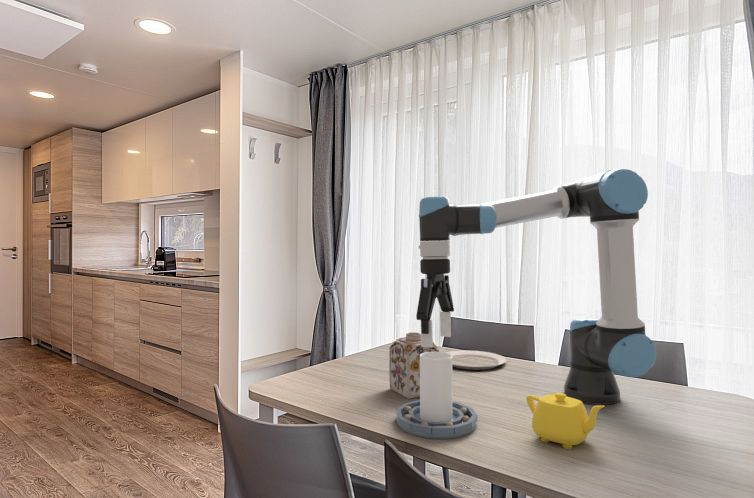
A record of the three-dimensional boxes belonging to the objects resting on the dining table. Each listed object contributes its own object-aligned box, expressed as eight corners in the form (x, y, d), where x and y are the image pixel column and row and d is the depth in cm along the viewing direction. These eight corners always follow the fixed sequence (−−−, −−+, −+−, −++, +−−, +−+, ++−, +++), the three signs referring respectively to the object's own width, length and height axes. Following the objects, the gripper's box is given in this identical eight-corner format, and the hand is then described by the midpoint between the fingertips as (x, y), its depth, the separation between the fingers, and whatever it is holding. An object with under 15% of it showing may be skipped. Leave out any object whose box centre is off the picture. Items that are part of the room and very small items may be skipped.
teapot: (613, 444, 104) (613, 397, 104) (595, 461, 96) (595, 410, 96) (536, 423, 117) (536, 381, 117) (515, 437, 109) (515, 391, 109)
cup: (451, 425, 113) (451, 359, 113) (418, 422, 115) (417, 358, 115) (453, 413, 121) (452, 352, 121) (421, 411, 123) (421, 351, 123)
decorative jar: (388, 388, 146) (388, 332, 146) (419, 383, 151) (419, 328, 151) (408, 400, 136) (407, 338, 135) (440, 393, 141) (440, 334, 141)
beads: (478, 412, 122) (478, 405, 122) (458, 436, 106) (458, 429, 106) (417, 402, 130) (417, 396, 130) (390, 423, 114) (390, 416, 114)
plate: (427, 358, 186) (427, 353, 186) (483, 353, 194) (483, 348, 194) (457, 374, 162) (457, 369, 162) (520, 368, 170) (520, 363, 170)
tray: (485, 416, 122) (485, 406, 122) (462, 445, 104) (462, 433, 104) (415, 404, 131) (415, 395, 131) (383, 429, 114) (383, 419, 114)
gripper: (438, 256, 130) (439, 331, 131) (401, 260, 108) (403, 350, 109) (464, 256, 127) (465, 333, 127) (431, 260, 105) (433, 353, 105)
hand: (436, 341), depth 118 cm, fingers open, 13 cm apart
